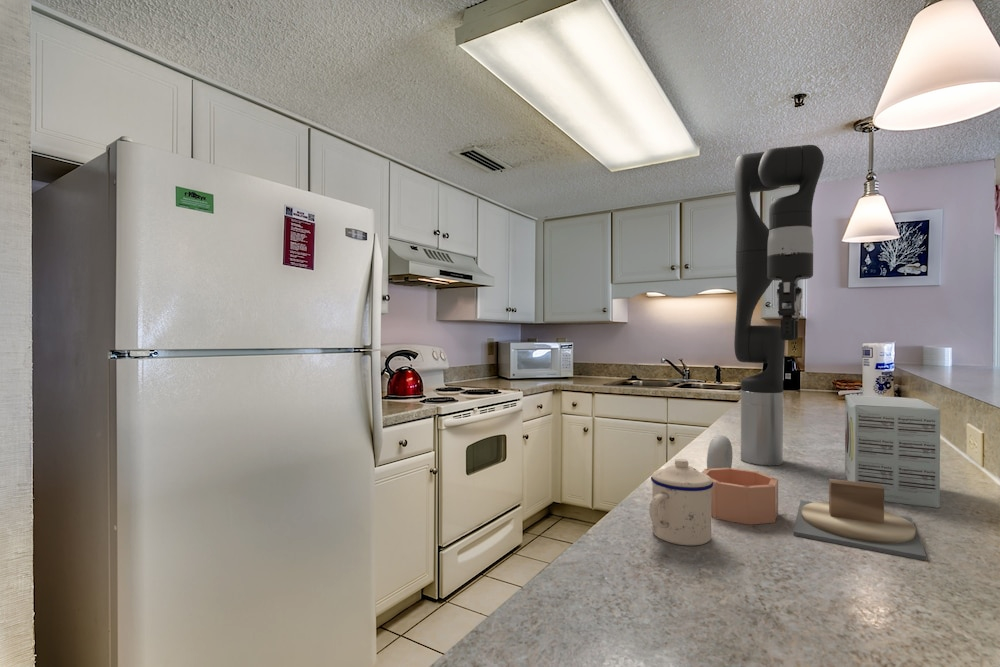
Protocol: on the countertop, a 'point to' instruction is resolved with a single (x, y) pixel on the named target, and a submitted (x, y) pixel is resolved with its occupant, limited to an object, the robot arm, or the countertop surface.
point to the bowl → (743, 496)
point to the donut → (719, 453)
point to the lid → (858, 514)
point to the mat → (901, 549)
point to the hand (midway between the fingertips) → (789, 339)
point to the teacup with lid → (681, 504)
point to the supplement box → (894, 447)
